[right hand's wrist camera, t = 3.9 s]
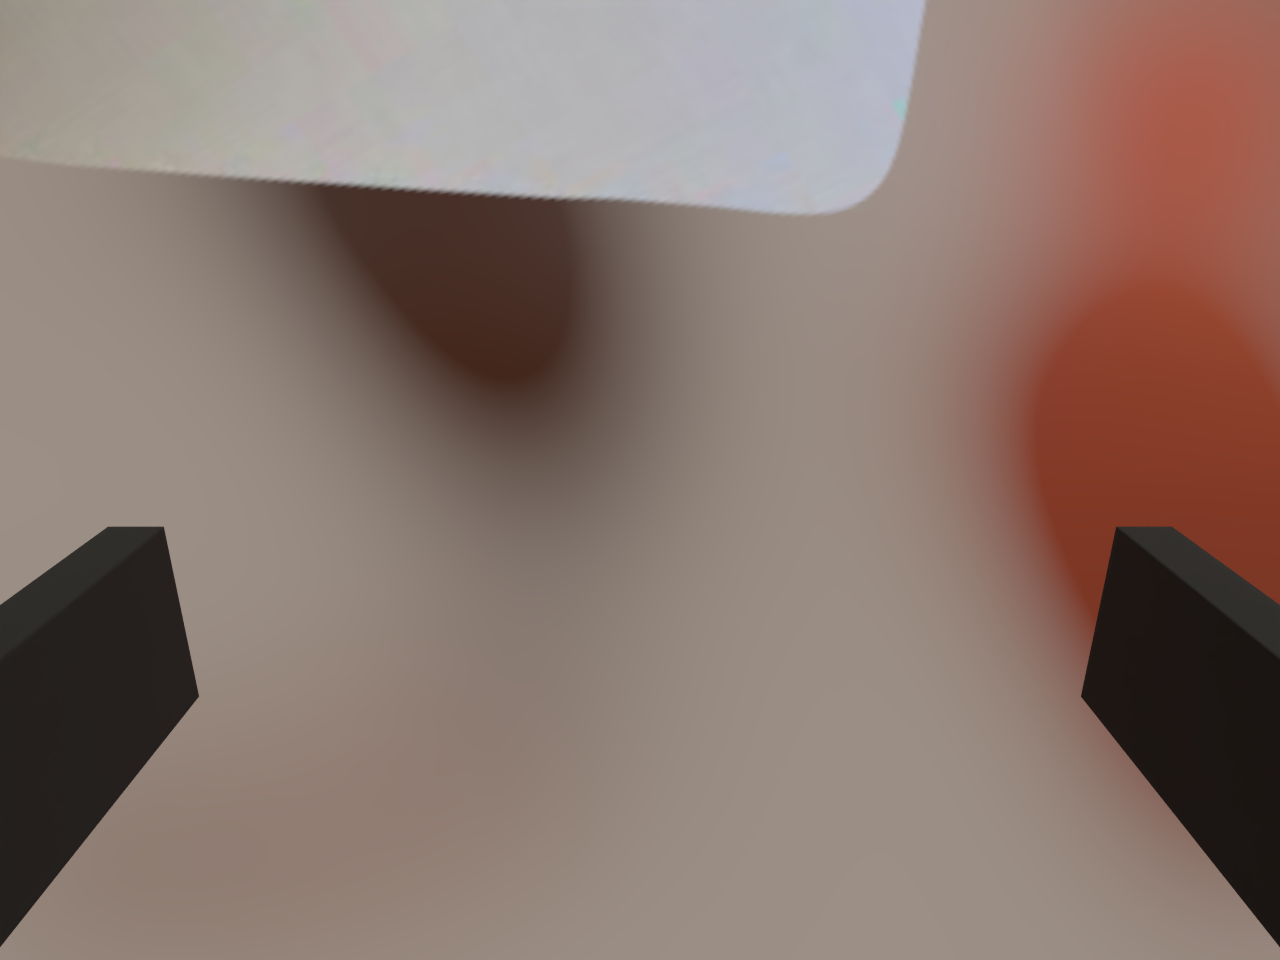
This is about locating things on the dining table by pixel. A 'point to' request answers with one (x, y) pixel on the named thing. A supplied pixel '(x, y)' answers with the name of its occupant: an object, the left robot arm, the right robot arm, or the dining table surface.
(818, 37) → the dining table surface
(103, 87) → the dining table surface
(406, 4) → the dining table surface
